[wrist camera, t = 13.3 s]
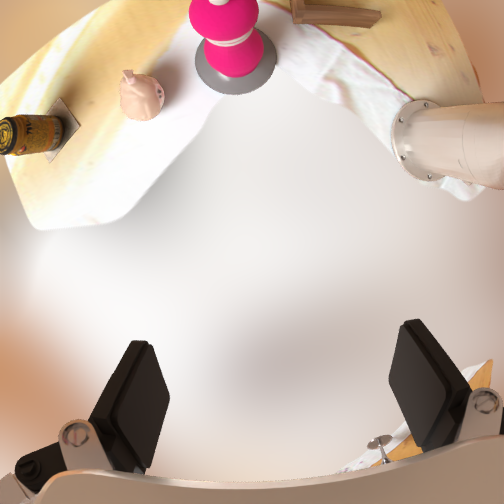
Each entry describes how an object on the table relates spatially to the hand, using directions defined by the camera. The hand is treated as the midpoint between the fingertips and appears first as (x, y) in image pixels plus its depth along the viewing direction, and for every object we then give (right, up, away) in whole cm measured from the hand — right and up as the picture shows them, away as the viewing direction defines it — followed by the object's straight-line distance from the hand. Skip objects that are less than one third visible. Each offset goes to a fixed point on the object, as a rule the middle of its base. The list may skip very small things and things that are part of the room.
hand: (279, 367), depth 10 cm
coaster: (-3, +31, +24) cm, 39 cm away
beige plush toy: (-16, +26, +27) cm, 40 cm away
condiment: (-33, +24, +28) cm, 49 cm away
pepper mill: (-3, +30, +24) cm, 39 cm away
